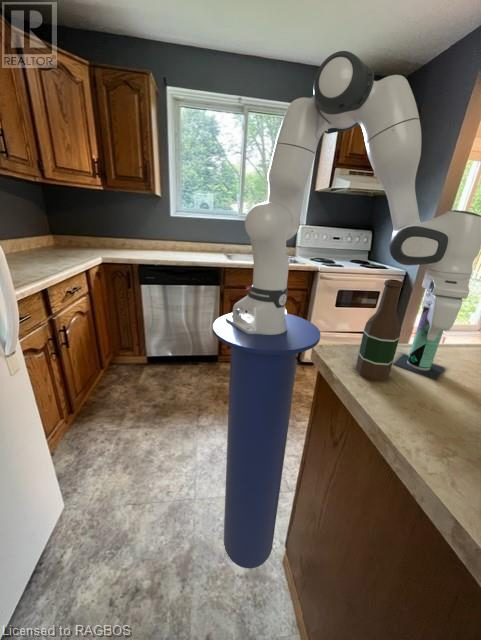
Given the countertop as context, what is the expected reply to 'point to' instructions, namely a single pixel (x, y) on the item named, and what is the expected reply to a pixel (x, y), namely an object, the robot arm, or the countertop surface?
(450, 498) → the countertop surface
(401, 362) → the mat
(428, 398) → the countertop surface
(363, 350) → the beer bottle
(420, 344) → the spray can
